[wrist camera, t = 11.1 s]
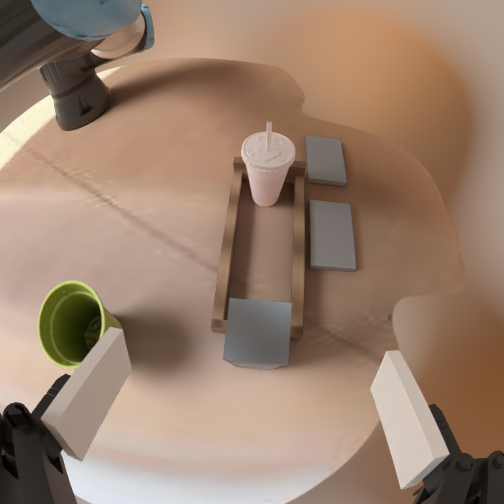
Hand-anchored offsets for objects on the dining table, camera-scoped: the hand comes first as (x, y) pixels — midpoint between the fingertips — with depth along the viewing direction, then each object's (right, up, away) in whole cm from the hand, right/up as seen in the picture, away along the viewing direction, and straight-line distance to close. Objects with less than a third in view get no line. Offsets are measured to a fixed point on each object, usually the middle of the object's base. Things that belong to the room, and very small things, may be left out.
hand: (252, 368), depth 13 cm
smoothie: (+2, +13, +27) cm, 31 cm away
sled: (+1, +5, +23) cm, 24 cm away
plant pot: (-19, -5, +18) cm, 27 cm away
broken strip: (+11, +14, +27) cm, 33 cm away
